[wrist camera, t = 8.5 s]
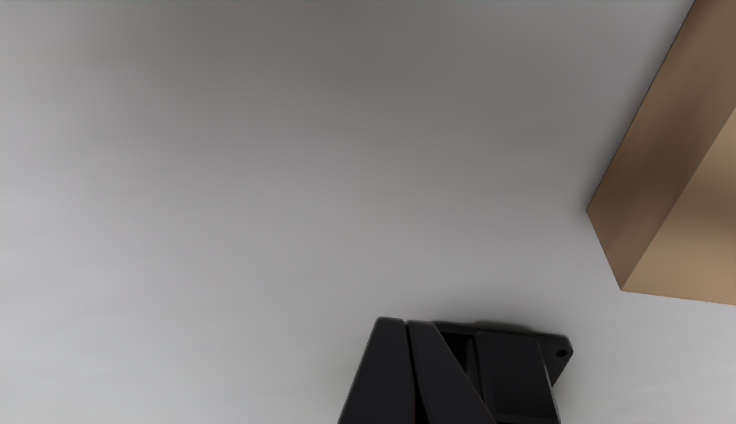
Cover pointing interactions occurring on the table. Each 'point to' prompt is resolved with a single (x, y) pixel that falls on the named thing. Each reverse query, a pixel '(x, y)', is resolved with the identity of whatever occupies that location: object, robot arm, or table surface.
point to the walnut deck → (678, 171)
